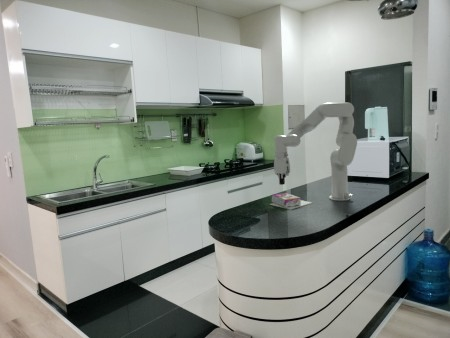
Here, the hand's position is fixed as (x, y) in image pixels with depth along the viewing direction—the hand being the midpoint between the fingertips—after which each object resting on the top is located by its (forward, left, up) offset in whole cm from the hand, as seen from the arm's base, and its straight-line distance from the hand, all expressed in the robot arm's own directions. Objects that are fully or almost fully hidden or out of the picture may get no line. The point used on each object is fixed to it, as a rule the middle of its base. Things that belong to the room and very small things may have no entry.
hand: (282, 184), depth 213 cm
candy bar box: (+3, +1, -9) cm, 9 cm away
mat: (-7, 0, -12) cm, 14 cm away
